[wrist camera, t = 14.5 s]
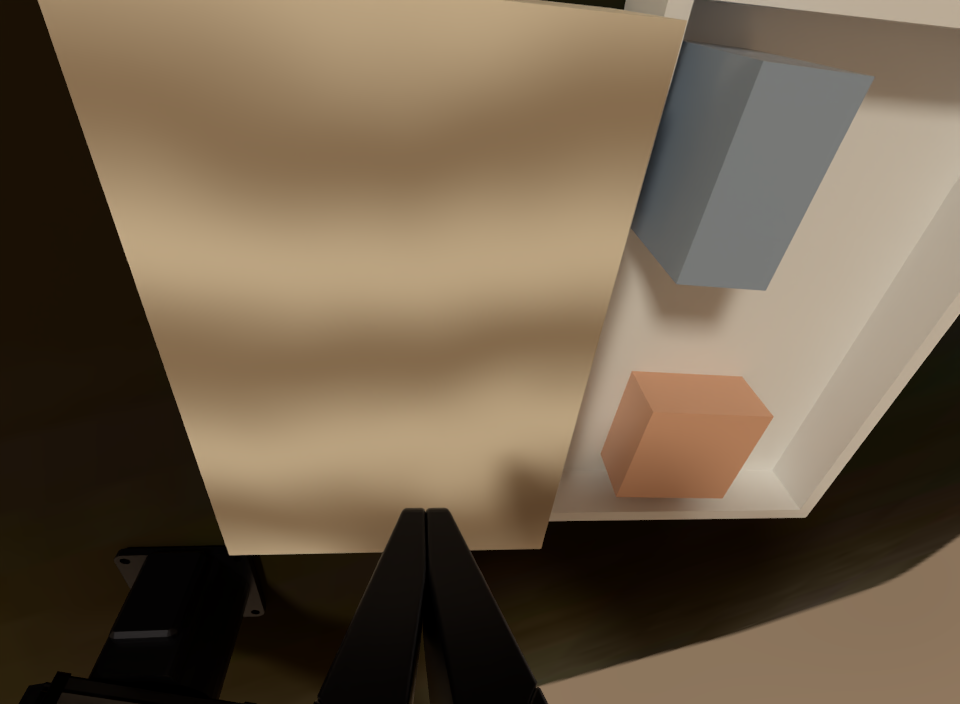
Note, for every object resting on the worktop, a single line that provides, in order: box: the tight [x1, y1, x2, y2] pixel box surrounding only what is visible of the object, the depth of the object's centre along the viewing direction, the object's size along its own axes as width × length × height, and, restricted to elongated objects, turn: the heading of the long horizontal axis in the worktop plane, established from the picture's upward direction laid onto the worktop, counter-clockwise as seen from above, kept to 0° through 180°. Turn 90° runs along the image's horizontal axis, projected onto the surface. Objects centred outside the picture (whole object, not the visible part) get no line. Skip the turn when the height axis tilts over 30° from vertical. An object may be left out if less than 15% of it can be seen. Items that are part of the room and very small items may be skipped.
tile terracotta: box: [601, 371, 774, 498], centre depth 22 cm, size 5×5×2 cm
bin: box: [549, 0, 960, 521], centre depth 19 cm, size 20×13×3 cm, turn 175°
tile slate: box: [631, 40, 875, 291], centre depth 14 cm, size 5×5×2 cm
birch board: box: [38, 0, 687, 555], centre depth 17 cm, size 18×12×5 cm, turn 175°
